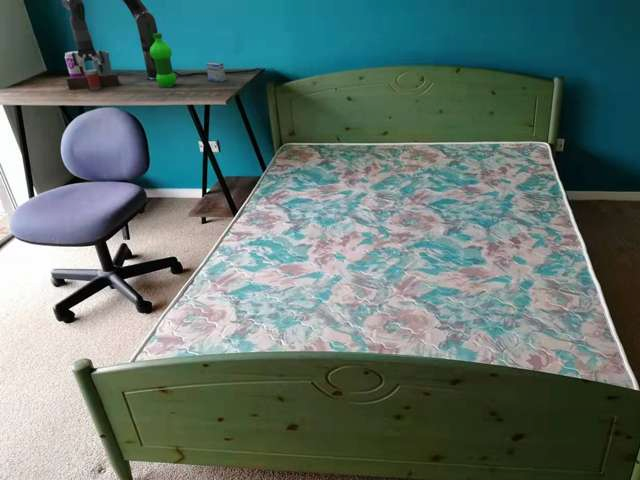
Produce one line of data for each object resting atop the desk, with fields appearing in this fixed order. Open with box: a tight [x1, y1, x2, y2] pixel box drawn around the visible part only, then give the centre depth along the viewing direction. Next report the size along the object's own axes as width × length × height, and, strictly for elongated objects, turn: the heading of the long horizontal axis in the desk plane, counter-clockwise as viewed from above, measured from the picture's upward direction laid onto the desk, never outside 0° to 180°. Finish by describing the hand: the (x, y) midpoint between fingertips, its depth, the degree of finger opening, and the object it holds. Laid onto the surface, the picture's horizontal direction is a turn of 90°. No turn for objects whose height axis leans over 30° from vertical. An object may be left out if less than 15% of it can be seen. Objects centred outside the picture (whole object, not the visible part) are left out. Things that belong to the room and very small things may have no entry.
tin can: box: [85, 68, 103, 91], centre depth 301 cm, size 6×6×9 cm
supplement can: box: [64, 50, 87, 78], centre depth 311 cm, size 8×8×15 cm
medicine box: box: [205, 61, 226, 83], centre depth 310 cm, size 8×4×9 cm, turn 68°
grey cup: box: [90, 50, 113, 75], centre depth 324 cm, size 10×10×12 cm
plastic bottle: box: [150, 32, 177, 88], centre depth 299 cm, size 10×10×25 cm
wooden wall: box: [65, 72, 121, 91], centre depth 306 cm, size 24×4×6 cm, turn 107°
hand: (92, 73), depth 300 cm, fingers open, 8 cm apart
